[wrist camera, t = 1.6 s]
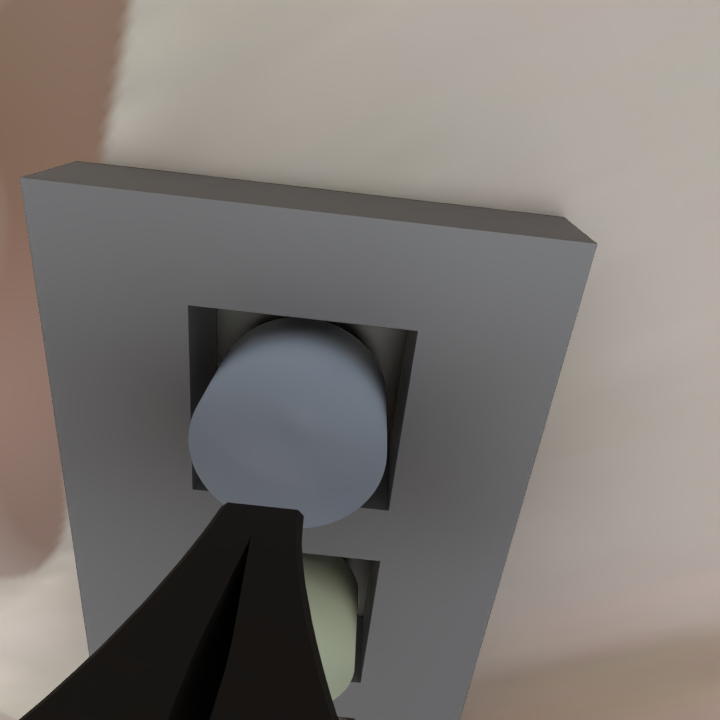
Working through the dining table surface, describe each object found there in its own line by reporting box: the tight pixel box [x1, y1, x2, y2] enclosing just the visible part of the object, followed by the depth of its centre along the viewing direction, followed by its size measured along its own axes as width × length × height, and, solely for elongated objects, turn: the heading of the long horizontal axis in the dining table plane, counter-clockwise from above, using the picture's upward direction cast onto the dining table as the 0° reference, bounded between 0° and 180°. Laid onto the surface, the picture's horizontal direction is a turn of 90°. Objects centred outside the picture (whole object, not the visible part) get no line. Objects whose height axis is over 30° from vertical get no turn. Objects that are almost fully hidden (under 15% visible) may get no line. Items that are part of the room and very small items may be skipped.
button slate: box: [188, 317, 387, 528], centre depth 14 cm, size 4×4×2 cm
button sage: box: [302, 553, 358, 701], centre depth 17 cm, size 4×4×2 cm
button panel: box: [20, 161, 597, 720], centre depth 19 cm, size 24×12×2 cm, turn 174°
